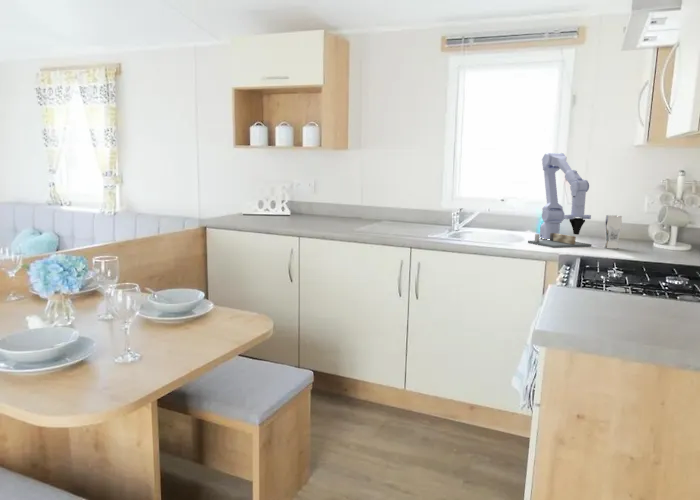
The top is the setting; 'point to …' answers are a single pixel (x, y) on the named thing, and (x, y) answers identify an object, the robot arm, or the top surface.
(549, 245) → the gate board
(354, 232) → the top surface
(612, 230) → the beer glass
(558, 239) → the gate
